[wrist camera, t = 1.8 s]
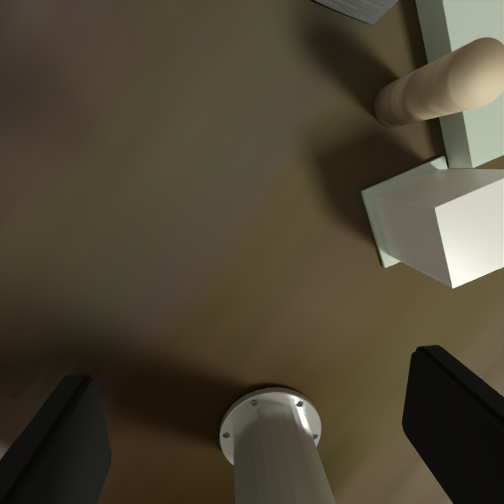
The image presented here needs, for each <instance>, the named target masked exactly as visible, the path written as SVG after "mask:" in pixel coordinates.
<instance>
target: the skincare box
mask: <svg viewBox="0 0 504 504" xmlns="http://www.w3.org/2000/svg"><path fill="white" fill-rule="evenodd" d="M315 1H317V2H319V3H321V4H323V5H325V6H327V7H330V8H332V9H334V10H336V11H339V12H341V13H343V14H346V15H348V16H351V17H353V18H356V19H359V20H361V21H364V22H367V23H369V24H374V23H375V22H376V21H377V20H378V19H379V18H380V17H381V16H382V15H383V14H385V13H386V12H387V11H388V10H389V9H390V8H391V7H392V6H393V5H394V4H395V3H396V2H397V1H398V0H315Z"/></svg>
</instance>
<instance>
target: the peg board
mask: <svg viewBox="0 0 504 504" xmlns="http://www.w3.org/2000/svg"><path fill="white" fill-rule="evenodd" d="M415 2H416V7H417V11H418V16H419V21H420V26H421V31H422V36H423V41H424V46H425V51H426V56H427V61H428V64H429V63H431V62H433V61H435V60H437V59H439V58H441V57H443V56H445V55H447V54H449V53H450V52H452V51H454V50H456V49H458V48H460V47H462V46H464V45H466V44H468V43H470V42H472V41H474V40H476V39H479V38H483V37H490V38H494V39H497V40H499V41H500V42H501V43H502V44H503V45H504V0H415ZM439 120H440V124H441V129H442V134H443V139H444V144H445V149H446V154H447V159H448V164H449V168H474V167H476V166H479V165H481V164H483V163H486V162H488V161H490V160H493V159H495V158H497V157H500V156H502V155H504V90H503V91H502V93H501V94H500V95H499V96H498V97H497V98H496V99H495V100H494V101H493V102H491V103H490V104H488V105H485V106H483V107H478V108H474V109H470V110H466V111H461V112H457V113H453V114H449V115H444V116H440V117H439Z"/></svg>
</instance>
